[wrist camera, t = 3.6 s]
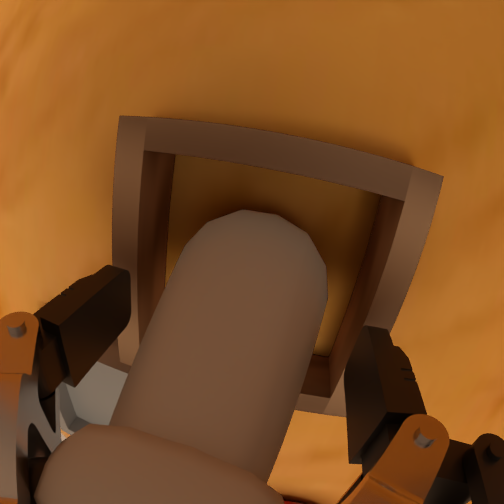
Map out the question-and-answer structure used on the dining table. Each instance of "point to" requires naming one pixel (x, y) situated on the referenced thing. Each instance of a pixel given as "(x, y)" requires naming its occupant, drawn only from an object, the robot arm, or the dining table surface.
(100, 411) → the tray
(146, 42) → the dining table surface
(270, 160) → the rectangular frame
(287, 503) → the plant pot
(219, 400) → the salt shaker
